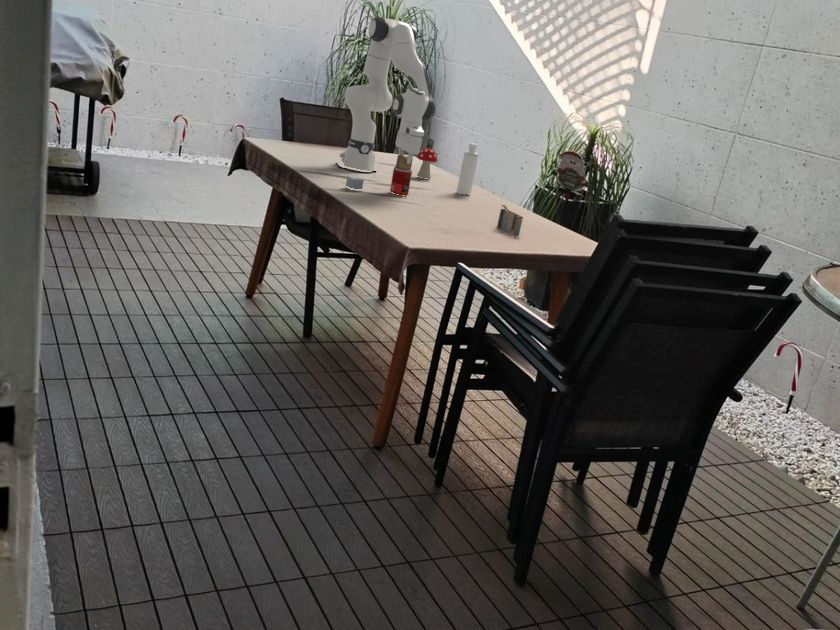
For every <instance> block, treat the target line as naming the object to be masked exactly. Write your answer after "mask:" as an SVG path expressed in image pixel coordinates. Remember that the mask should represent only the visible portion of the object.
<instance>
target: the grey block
mask: <svg viewBox="0 0 840 630" xmlns="http://www.w3.org/2000/svg"><path fill="white" fill-rule="evenodd" d="M364 182H365V180H364V179H363V178H360V177H358V176H346V182H345V187H346V186H348V187H350V188H354V189H362V190H363V186H364Z"/></svg>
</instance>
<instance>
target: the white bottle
mask: <svg viewBox="0 0 840 630" xmlns="http://www.w3.org/2000/svg"><path fill="white" fill-rule="evenodd" d="M468 145H469V146H468V150H466V151H465V152H463V158H462V163H461V166H460V167H461V168H460V173H459V178H458V182H457V188H456V192H457V193H456V194H458V193H461V194H467V195H470V194H471V193H472V190H473V189H472V188H473V184H474V180H475V175H476V170H477V165H478V160H479V154H478V152H476V150H477V147H478V144H477V143H472V142H469V144H468ZM461 194H460V195H461ZM470 196H471V195H470Z"/></svg>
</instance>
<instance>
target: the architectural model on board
mask: <svg viewBox="0 0 840 630" xmlns="http://www.w3.org/2000/svg"><path fill="white" fill-rule="evenodd" d="M501 207H503V208H500V211H499V216H498V220H497V223H496V224H497V225H496V228H500V229H501V230H503V231H505V232H507V233H509V234H511V235H514V236H520V234H521V233H520V232H521V228H522V223H523V218H524V217H523V216H522V215H520V214H518V213H515V212H513V211H511V210H509V209H508V207H507V205H505V204H503V203H501Z"/></svg>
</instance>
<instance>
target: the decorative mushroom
mask: <svg viewBox="0 0 840 630" xmlns="http://www.w3.org/2000/svg"><path fill="white" fill-rule="evenodd" d="M416 156H417V159H418V160H420V161H422V163H421V166H420V168H419V170H418V172H417V174H416V176H419V177H422V178H428V179H430V180H431V178H432V177H431V163H437V162H438V157H437V153H436V152H435V150H434V149H432V148H429V147H425V148H422V149H420V151H419V153H418V155H416Z"/></svg>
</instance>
